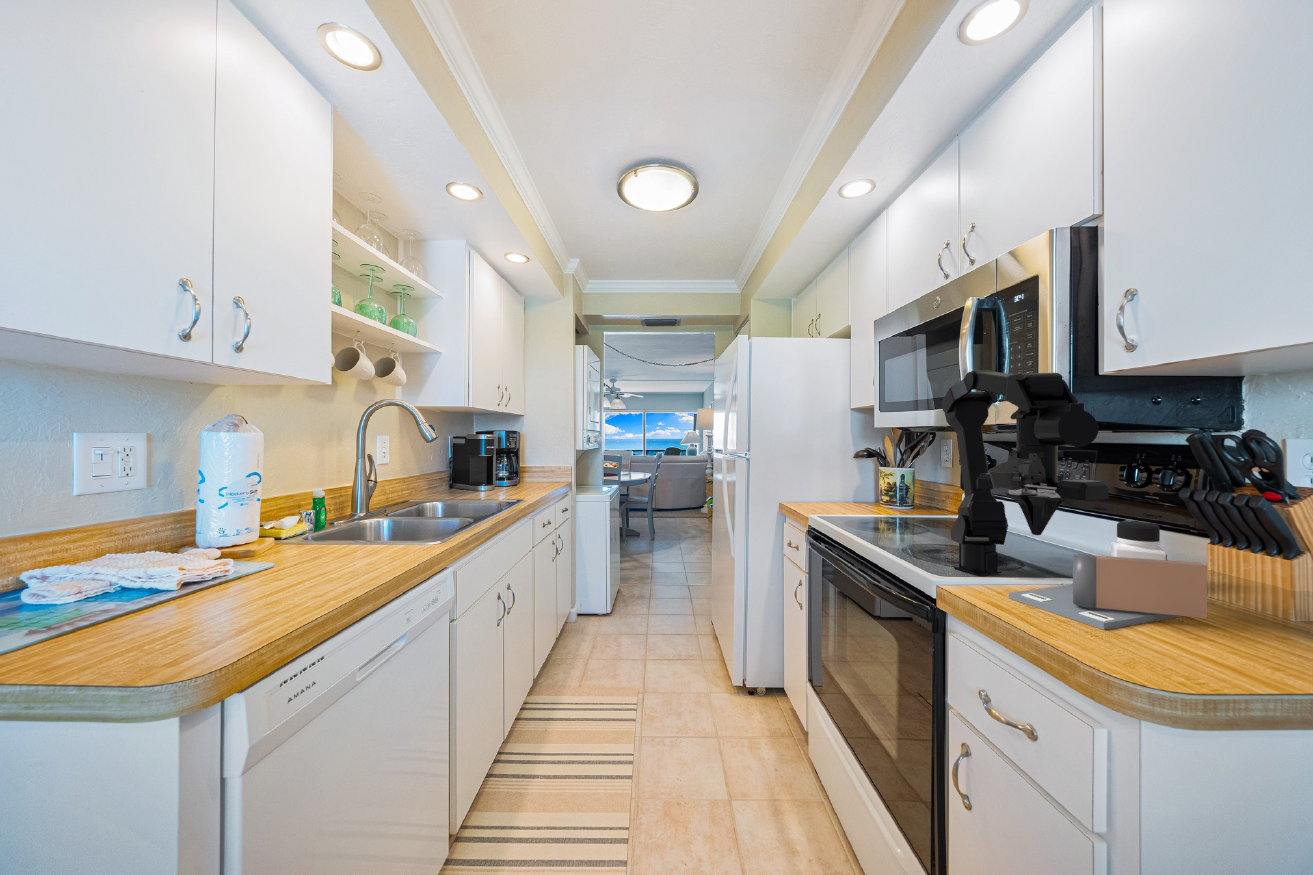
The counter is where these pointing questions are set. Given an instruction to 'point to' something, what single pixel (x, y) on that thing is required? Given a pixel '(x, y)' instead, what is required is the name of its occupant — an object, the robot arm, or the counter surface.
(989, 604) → the counter surface
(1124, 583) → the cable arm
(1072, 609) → the label board
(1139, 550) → the medicine bottle
